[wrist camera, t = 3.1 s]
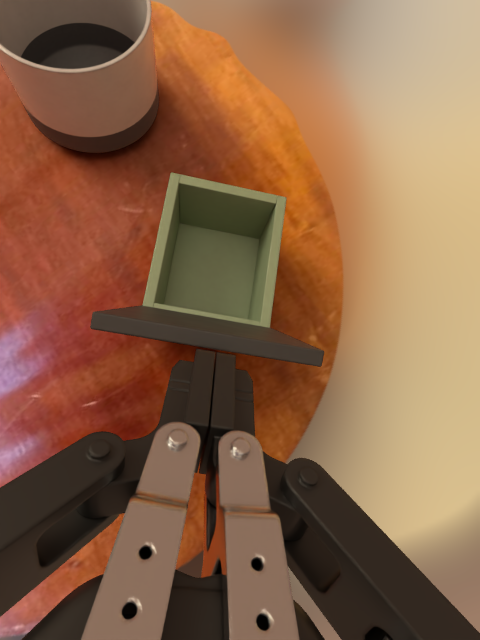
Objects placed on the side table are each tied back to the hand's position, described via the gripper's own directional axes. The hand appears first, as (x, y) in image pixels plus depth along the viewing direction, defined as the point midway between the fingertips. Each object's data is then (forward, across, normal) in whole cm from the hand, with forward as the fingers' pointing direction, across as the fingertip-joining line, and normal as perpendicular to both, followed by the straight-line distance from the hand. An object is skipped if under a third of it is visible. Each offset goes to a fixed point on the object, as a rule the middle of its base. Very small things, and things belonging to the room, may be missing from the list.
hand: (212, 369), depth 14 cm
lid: (+7, 0, -2) cm, 7 cm away
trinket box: (+22, 0, -8) cm, 23 cm away
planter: (+34, -15, +4) cm, 37 cm away
